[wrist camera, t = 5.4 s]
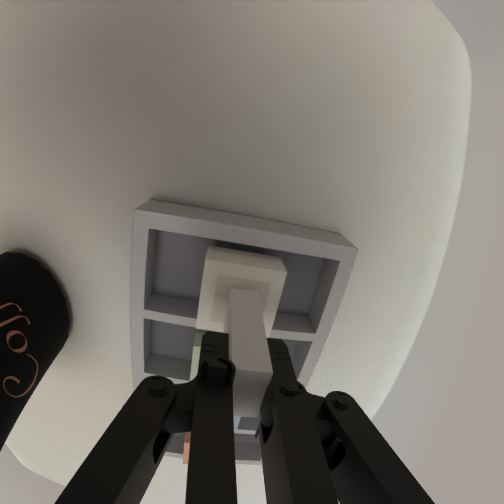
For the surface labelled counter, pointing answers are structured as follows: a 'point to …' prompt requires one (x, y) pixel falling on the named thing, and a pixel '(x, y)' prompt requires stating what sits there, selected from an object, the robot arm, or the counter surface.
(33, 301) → the coffee jar
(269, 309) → the key ivory
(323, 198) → the counter surface
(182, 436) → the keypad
